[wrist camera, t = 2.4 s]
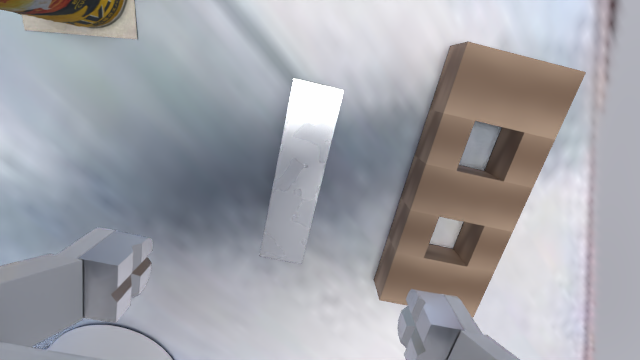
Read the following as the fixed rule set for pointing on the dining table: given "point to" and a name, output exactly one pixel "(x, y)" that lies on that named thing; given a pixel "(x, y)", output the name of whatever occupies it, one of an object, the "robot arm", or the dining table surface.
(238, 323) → the dining table surface
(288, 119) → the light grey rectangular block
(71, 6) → the condiment
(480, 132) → the dining table surface
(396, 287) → the brown wooden block
